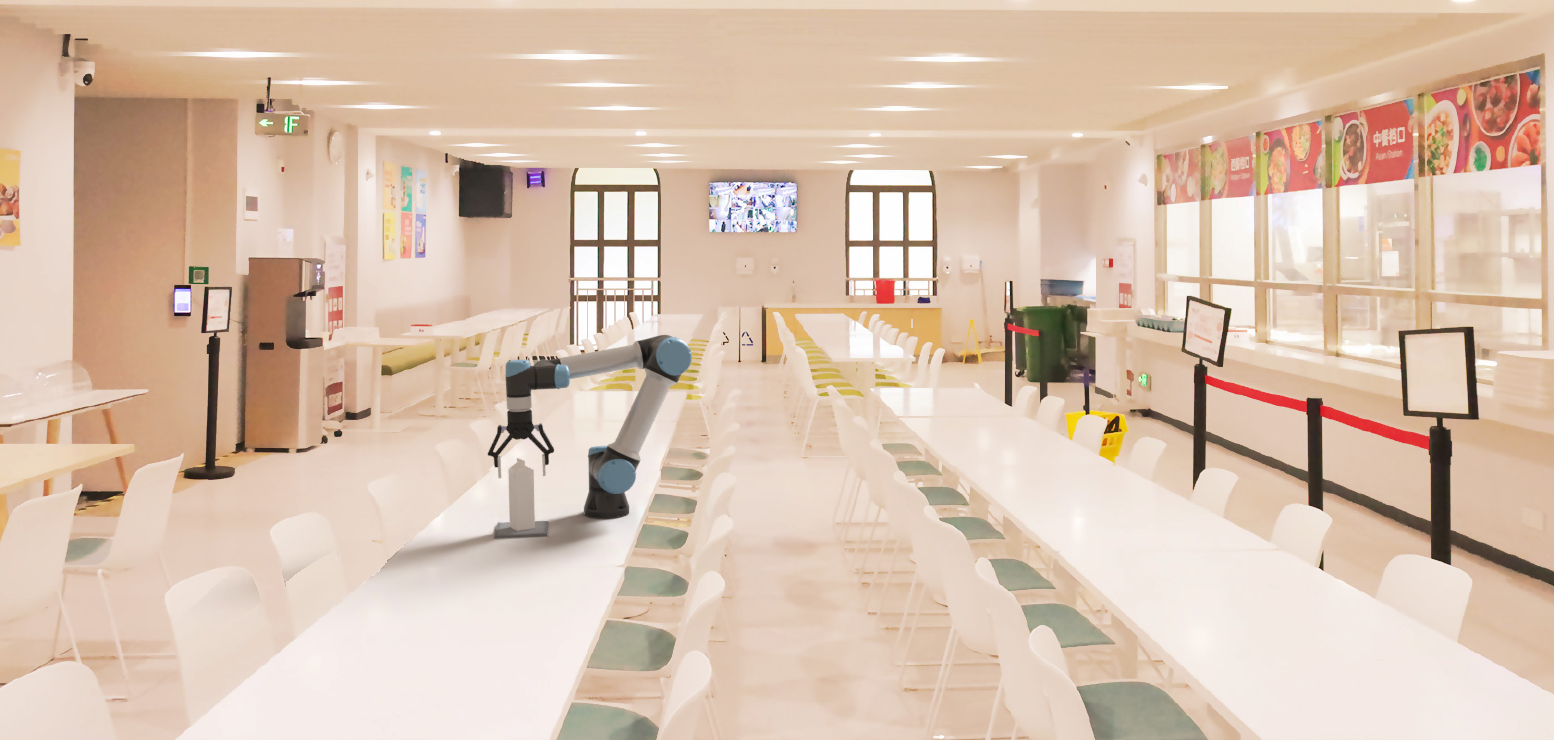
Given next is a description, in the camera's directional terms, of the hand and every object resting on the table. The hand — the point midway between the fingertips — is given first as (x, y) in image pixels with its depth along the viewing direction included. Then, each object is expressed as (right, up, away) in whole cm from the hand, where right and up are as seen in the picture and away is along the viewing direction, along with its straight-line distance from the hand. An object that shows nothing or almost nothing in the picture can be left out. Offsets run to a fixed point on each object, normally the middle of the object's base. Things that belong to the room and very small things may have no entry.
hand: (522, 476), depth 341 cm
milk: (0, -17, +2) cm, 17 cm away
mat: (-1, -17, +2) cm, 17 cm away
